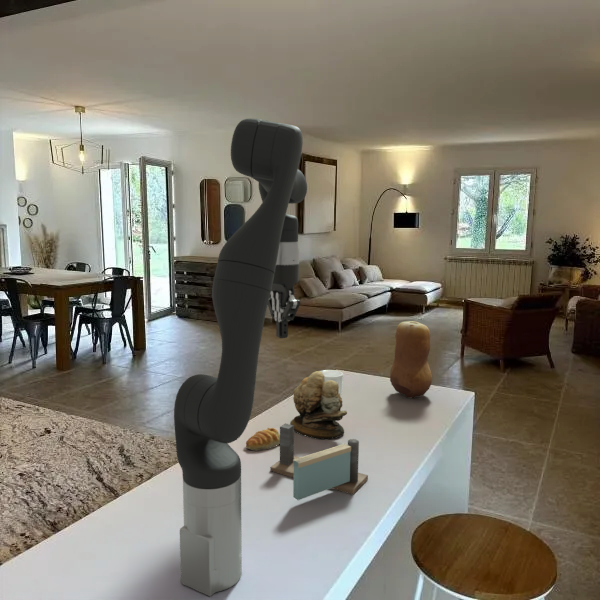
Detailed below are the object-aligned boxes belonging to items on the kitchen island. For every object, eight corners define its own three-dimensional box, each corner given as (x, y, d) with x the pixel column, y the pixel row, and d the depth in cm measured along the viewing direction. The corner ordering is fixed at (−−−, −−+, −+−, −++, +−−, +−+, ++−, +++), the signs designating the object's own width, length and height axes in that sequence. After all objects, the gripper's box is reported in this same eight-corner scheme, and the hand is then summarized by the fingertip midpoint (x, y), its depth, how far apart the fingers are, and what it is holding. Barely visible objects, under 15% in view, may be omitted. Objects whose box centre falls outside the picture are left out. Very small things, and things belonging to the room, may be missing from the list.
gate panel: (350, 481, 119) (351, 446, 118) (298, 500, 111) (298, 463, 109) (344, 478, 120) (345, 443, 119) (292, 496, 112) (293, 459, 111)
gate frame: (352, 494, 116) (354, 449, 115) (270, 471, 127) (270, 429, 125) (367, 479, 123) (369, 437, 122) (288, 458, 134) (288, 419, 132)
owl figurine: (356, 432, 151) (358, 372, 148) (331, 445, 142) (332, 382, 139) (306, 416, 162) (307, 360, 160) (279, 428, 153) (280, 369, 151)
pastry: (256, 455, 136) (256, 440, 135) (239, 447, 140) (239, 433, 140) (284, 444, 142) (283, 430, 142) (266, 437, 147) (266, 423, 146)
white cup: (314, 406, 171) (315, 375, 169) (321, 398, 178) (321, 368, 177) (339, 409, 169) (340, 377, 167) (344, 401, 176) (345, 371, 175)
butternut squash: (436, 394, 184) (440, 321, 180) (423, 405, 173) (426, 327, 169) (397, 387, 191) (400, 316, 188) (382, 397, 180) (384, 322, 176)
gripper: (311, 263, 119) (310, 341, 122) (283, 259, 130) (282, 330, 133) (281, 264, 115) (281, 345, 118) (254, 260, 127) (254, 333, 129)
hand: (282, 337), depth 125 cm, fingers closed
